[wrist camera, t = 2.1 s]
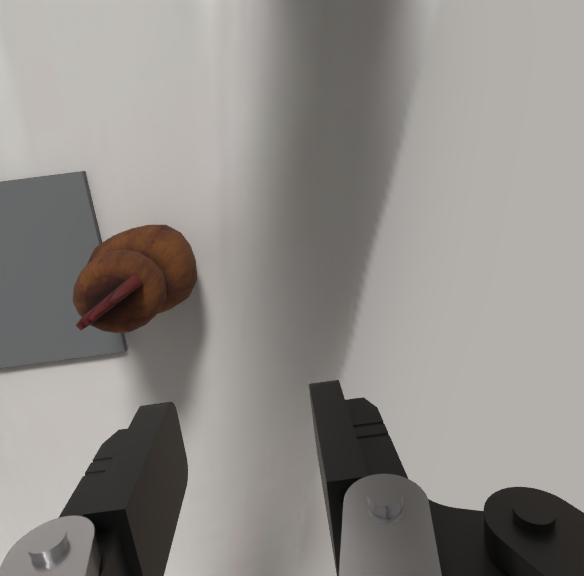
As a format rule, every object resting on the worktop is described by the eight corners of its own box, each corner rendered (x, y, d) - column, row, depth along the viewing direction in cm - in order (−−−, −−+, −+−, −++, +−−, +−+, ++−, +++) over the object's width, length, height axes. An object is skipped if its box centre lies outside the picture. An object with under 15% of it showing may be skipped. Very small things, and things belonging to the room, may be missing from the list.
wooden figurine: (188, 209, 34) (129, 244, 20) (213, 280, 36) (175, 361, 21) (103, 234, 34) (-17, 286, 20) (131, 304, 36) (38, 400, 22)
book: (85, 171, 33) (81, 171, 33) (127, 348, 37) (124, 351, 36) (-137, 199, 33) (-144, 199, 32) (-72, 374, 37) (-77, 378, 36)
